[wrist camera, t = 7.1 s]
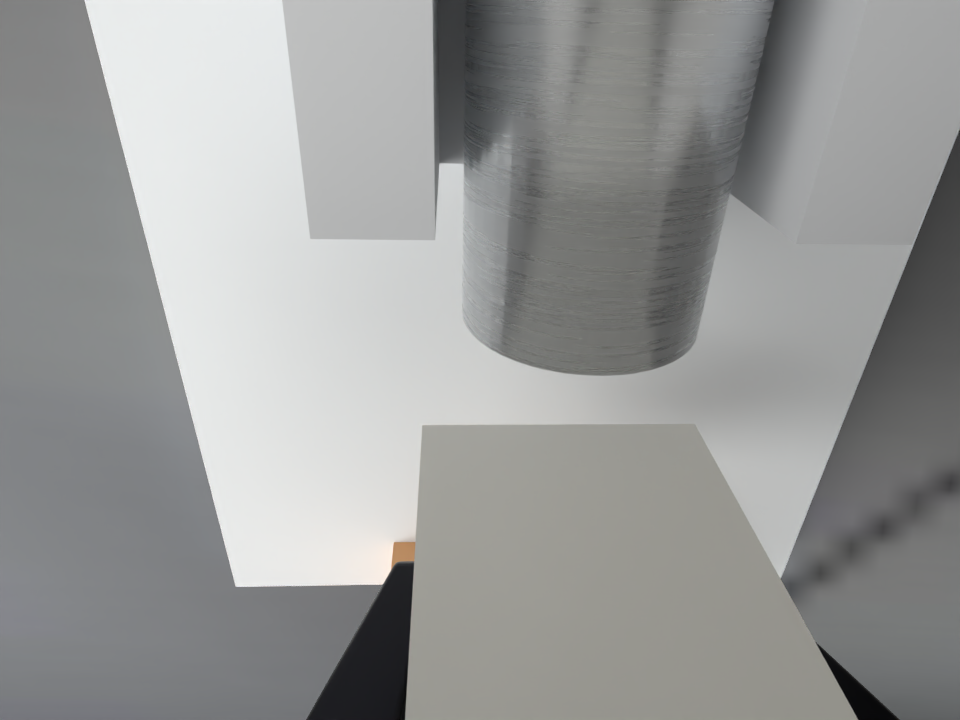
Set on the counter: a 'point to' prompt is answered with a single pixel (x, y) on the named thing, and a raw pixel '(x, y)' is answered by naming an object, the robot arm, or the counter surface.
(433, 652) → the block
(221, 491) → the bearing rail
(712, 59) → the shaft
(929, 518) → the counter surface
